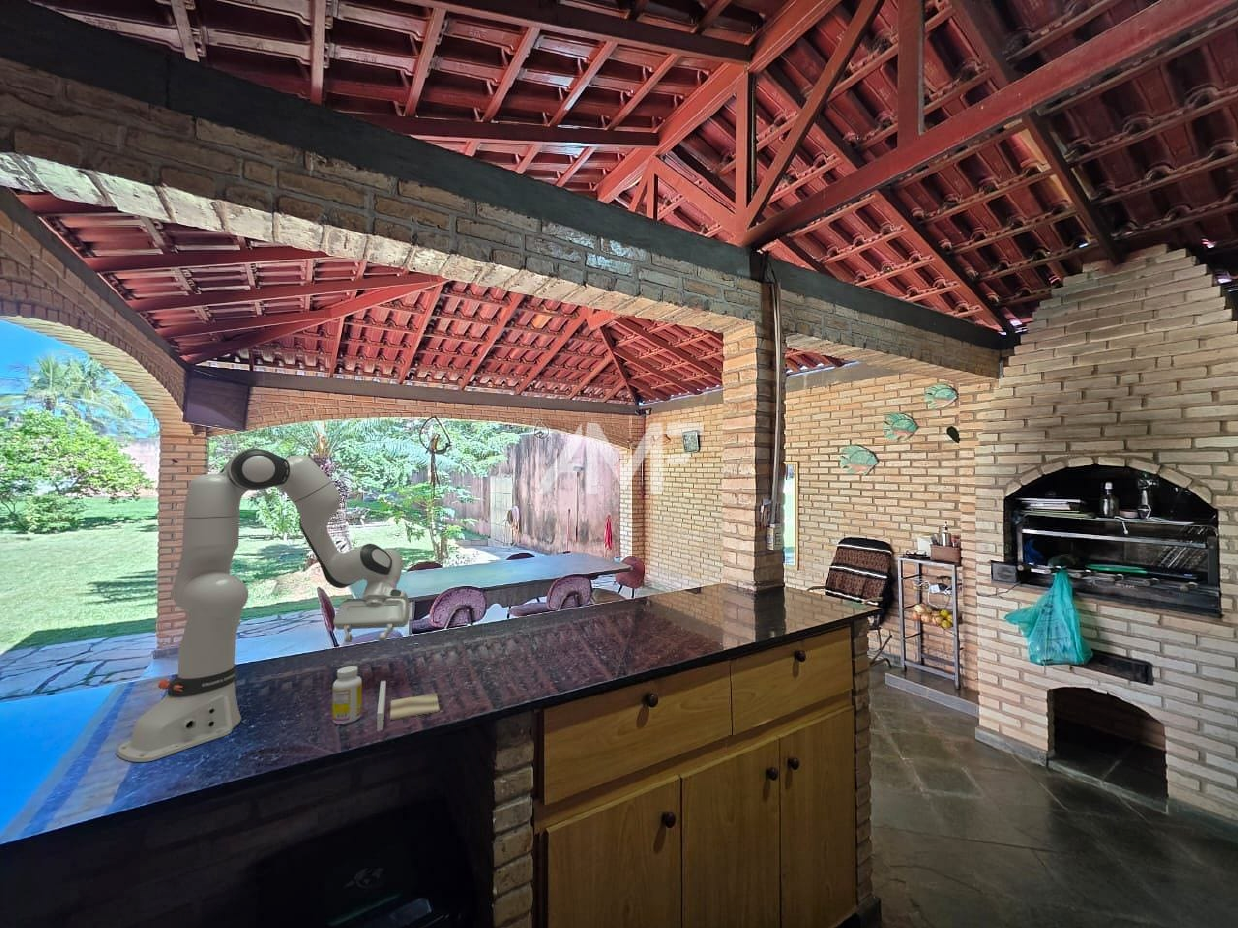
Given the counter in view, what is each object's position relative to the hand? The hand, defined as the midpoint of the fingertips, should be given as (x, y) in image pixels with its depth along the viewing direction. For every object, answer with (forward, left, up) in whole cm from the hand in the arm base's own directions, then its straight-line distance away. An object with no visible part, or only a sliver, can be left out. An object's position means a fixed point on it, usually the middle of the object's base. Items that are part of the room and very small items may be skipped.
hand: (365, 640), depth 138 cm
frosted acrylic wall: (-4, -11, -17) cm, 20 cm away
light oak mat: (+2, -17, -17) cm, 24 cm away
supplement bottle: (-10, -6, -17) cm, 20 cm away
